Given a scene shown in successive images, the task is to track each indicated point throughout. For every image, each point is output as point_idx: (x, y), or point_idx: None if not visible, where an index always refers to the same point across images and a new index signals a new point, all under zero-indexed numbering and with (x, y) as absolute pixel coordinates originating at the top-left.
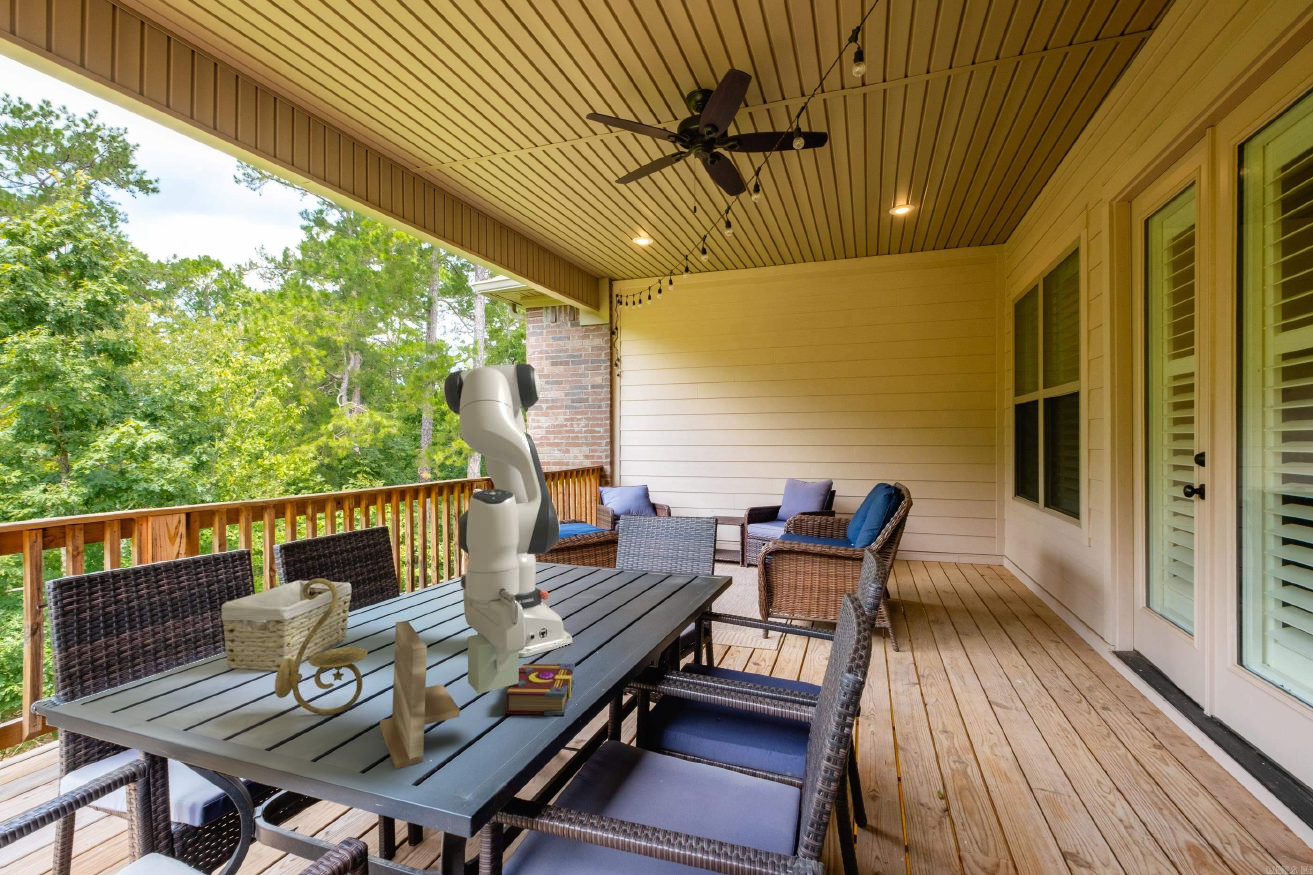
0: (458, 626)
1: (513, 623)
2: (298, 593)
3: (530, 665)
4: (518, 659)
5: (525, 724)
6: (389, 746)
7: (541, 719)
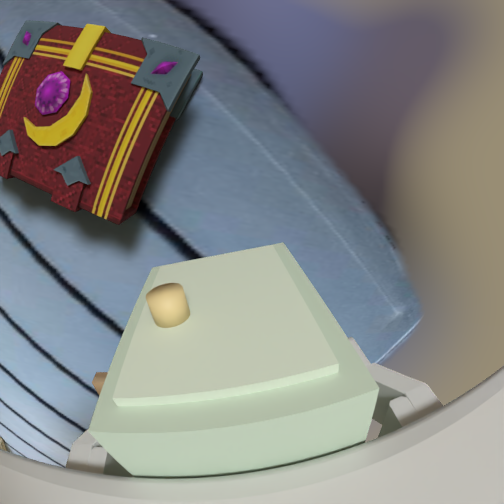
0: None
1: (496, 491)
2: None
3: None
4: (314, 288)
5: (205, 174)
6: None
7: (195, 130)
